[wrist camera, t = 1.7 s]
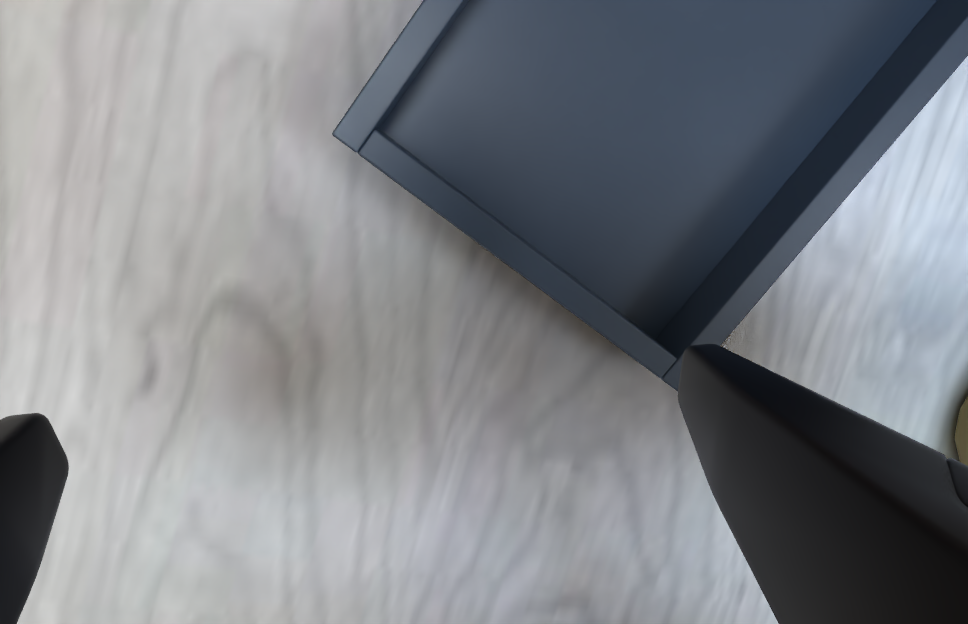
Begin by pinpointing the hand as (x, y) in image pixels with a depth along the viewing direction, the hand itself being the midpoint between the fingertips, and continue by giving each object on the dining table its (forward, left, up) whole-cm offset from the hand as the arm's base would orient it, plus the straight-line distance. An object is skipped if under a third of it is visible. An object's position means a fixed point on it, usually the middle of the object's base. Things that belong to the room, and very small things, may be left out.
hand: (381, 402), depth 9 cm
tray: (-3, -10, -12) cm, 16 cm away
